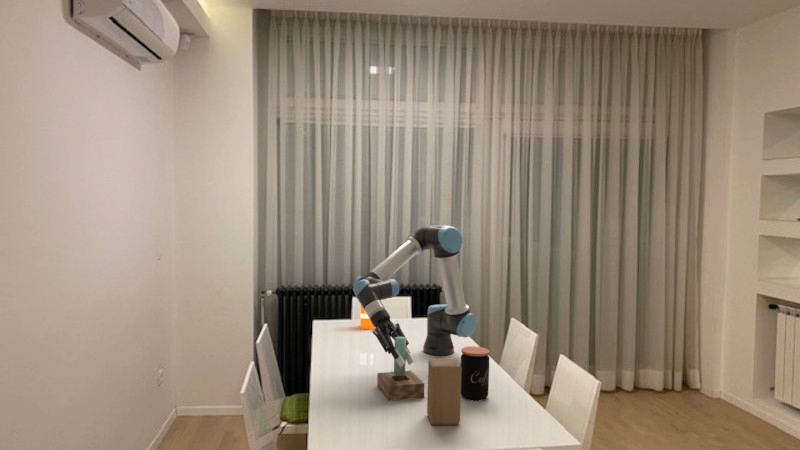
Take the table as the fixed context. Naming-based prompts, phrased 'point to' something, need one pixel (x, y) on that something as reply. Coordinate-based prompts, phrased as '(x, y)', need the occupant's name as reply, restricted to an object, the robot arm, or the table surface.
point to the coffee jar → (474, 373)
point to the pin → (401, 347)
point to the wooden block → (444, 391)
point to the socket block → (400, 386)
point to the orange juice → (365, 320)
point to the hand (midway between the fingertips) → (407, 363)
